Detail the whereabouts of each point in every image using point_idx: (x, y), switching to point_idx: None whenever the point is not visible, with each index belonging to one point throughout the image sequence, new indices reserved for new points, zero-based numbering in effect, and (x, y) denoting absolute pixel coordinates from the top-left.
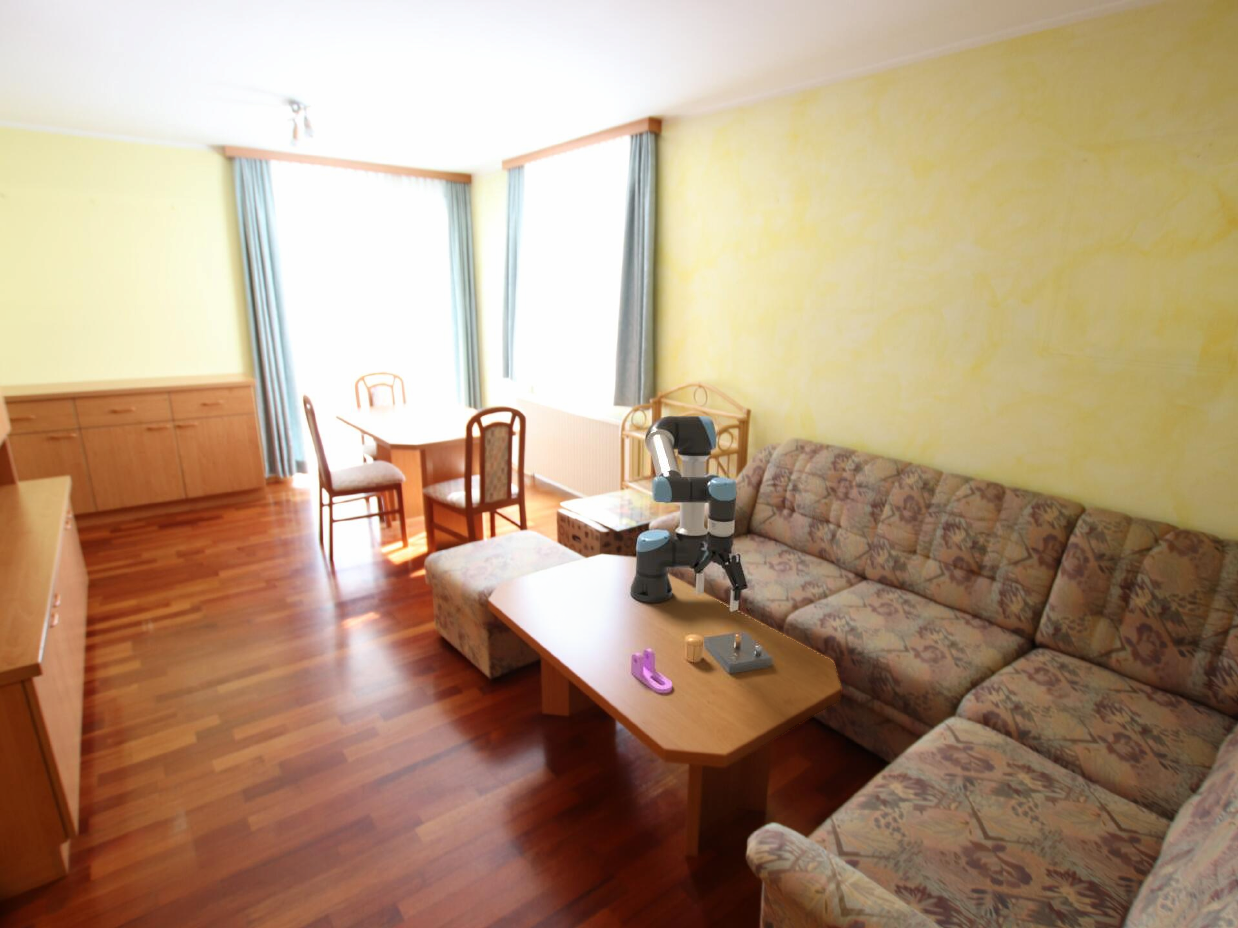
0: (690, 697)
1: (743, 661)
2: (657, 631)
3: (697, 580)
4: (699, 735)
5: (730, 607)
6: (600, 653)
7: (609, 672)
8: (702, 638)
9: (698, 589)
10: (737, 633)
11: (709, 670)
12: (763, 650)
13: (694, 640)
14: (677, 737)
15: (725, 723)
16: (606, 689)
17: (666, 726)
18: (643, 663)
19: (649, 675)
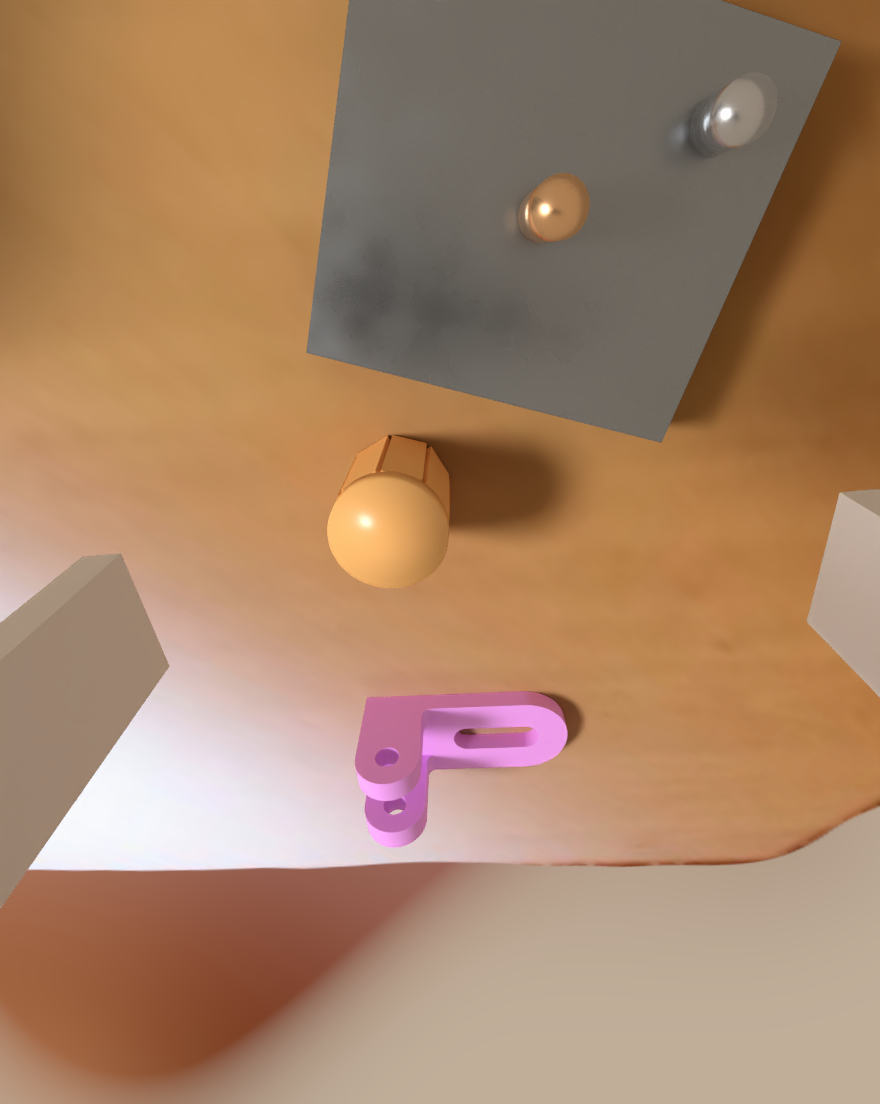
0: (648, 680)
1: (703, 331)
2: (57, 479)
3: (9, 881)
4: (821, 770)
5: (853, 654)
6: (191, 773)
7: (334, 803)
8: (413, 487)
9: (124, 705)
10: (535, 191)
11: (549, 490)
12: (721, 23)
13: (409, 548)
14: (769, 817)
15: None
16: (424, 847)
17: (706, 814)
18: (425, 797)
19: (449, 743)
